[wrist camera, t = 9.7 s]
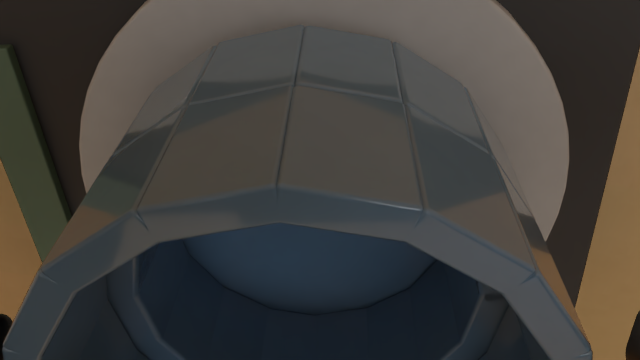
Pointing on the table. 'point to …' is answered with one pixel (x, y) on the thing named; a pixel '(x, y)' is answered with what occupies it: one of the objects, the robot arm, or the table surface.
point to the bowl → (302, 221)
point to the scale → (339, 14)
